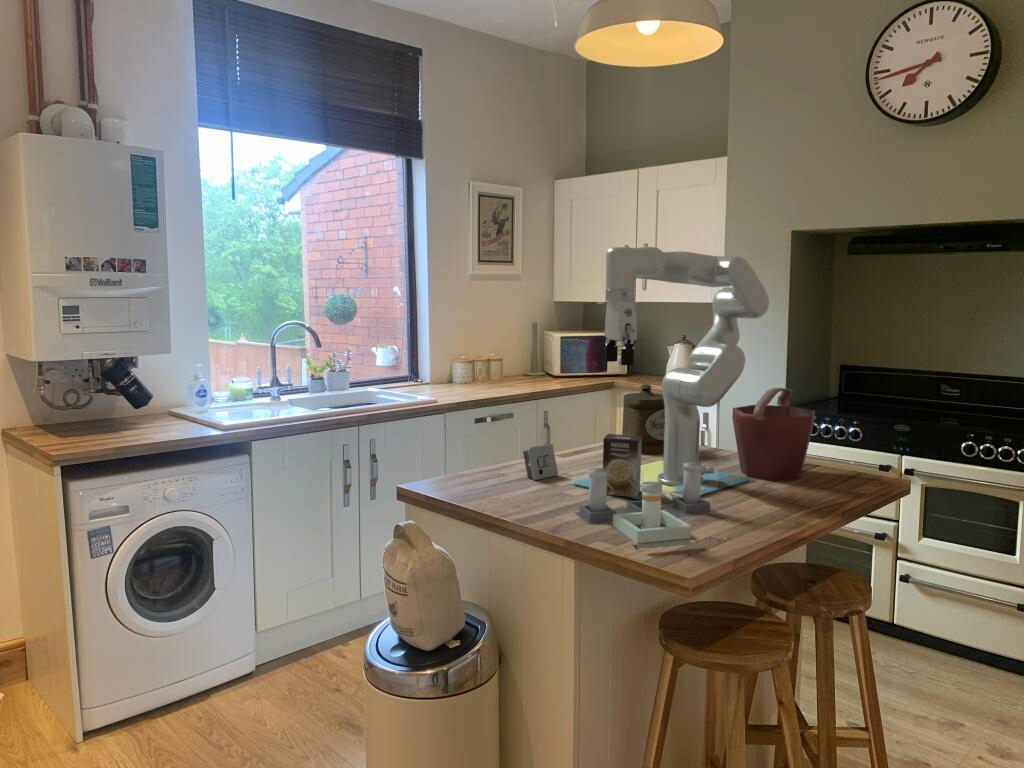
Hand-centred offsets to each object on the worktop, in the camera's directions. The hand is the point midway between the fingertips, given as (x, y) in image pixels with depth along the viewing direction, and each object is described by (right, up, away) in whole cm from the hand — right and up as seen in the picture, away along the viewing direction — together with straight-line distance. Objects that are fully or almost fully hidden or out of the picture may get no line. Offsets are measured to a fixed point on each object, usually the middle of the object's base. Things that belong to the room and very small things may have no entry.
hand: (619, 363), depth 200 cm
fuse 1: (-8, -36, -22) cm, 43 cm away
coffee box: (0, -35, -1) cm, 35 cm away
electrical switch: (-20, -32, +21) cm, 43 cm away
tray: (+2, -39, -32) cm, 50 cm away
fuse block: (+4, -37, -18) cm, 41 cm away
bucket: (+48, -32, +25) cm, 63 cm away
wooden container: (+16, -27, +58) cm, 66 cm away
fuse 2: (+15, -35, -15) cm, 41 cm away
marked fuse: (+2, -38, -32) cm, 50 cm away
